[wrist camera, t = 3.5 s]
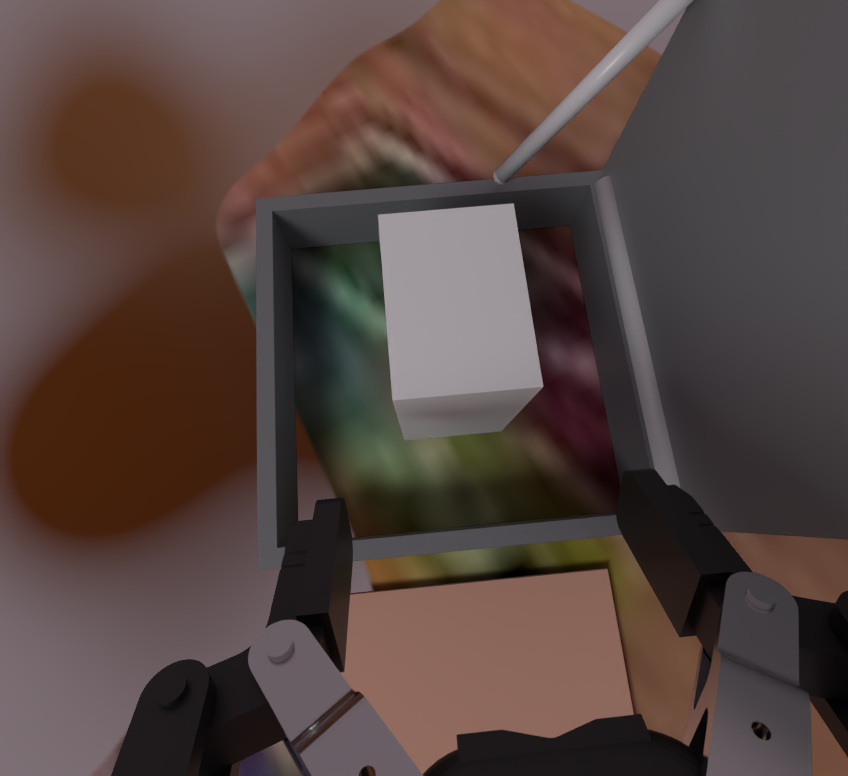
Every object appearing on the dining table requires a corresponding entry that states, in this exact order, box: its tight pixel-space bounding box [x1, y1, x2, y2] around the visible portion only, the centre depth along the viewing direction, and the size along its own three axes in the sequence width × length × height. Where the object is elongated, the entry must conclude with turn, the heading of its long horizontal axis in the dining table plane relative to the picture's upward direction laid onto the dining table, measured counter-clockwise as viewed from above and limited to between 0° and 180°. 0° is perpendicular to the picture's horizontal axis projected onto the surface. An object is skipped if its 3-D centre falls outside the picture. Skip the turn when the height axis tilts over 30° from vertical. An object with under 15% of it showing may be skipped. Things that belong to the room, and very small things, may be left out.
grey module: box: [378, 203, 543, 440], centre depth 21 cm, size 5×7×9 cm
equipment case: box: [256, 0, 848, 570], centre depth 15 cm, size 18×18×21 cm
